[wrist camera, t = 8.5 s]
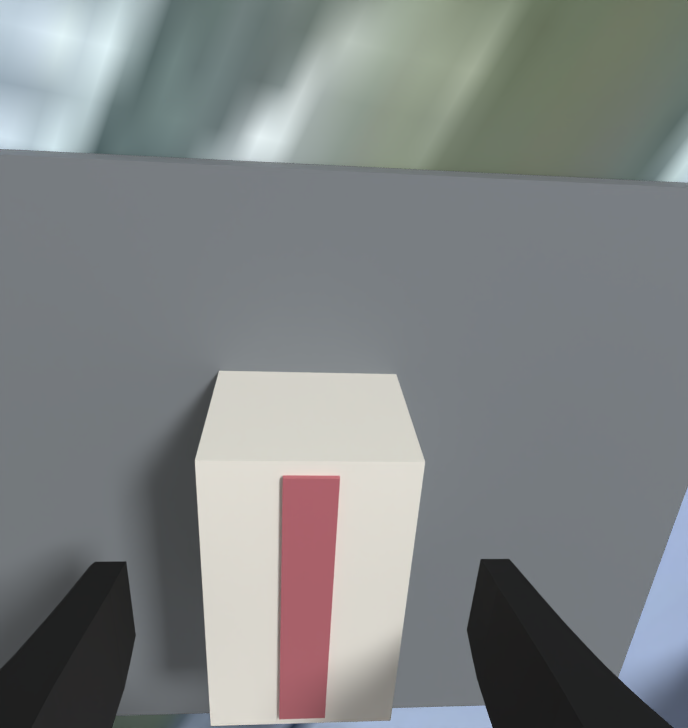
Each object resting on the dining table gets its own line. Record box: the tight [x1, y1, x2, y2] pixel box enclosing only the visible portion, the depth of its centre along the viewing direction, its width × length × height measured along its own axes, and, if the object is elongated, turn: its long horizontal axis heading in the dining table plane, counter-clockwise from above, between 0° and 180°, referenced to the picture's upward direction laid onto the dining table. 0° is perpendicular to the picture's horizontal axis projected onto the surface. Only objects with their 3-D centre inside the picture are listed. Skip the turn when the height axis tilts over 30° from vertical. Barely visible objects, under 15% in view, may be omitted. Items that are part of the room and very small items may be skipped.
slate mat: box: [0, 149, 688, 716], centre depth 16 cm, size 20×16×1 cm
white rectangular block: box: [195, 371, 425, 726], centre depth 14 cm, size 7×4×4 cm, turn 177°
